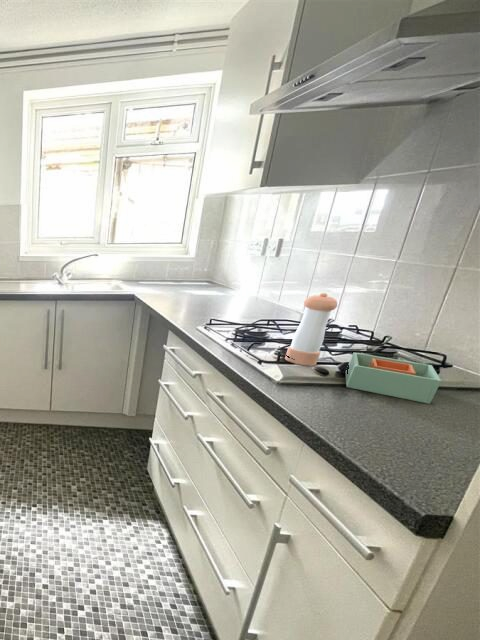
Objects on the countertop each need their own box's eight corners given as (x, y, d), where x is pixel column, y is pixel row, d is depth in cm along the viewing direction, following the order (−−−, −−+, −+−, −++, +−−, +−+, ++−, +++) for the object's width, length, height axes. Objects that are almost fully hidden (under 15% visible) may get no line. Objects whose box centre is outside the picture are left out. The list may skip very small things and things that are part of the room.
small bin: (402, 383, 102) (411, 364, 100) (406, 393, 97) (415, 373, 95) (364, 376, 106) (372, 358, 104) (366, 385, 101) (374, 366, 99)
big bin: (421, 386, 102) (432, 365, 99) (429, 403, 93) (441, 381, 91) (345, 372, 110) (353, 352, 108) (346, 387, 101) (355, 365, 99)
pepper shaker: (322, 363, 116) (348, 294, 108) (305, 367, 113) (331, 297, 105) (294, 355, 122) (317, 289, 114) (278, 358, 119) (300, 291, 112)
